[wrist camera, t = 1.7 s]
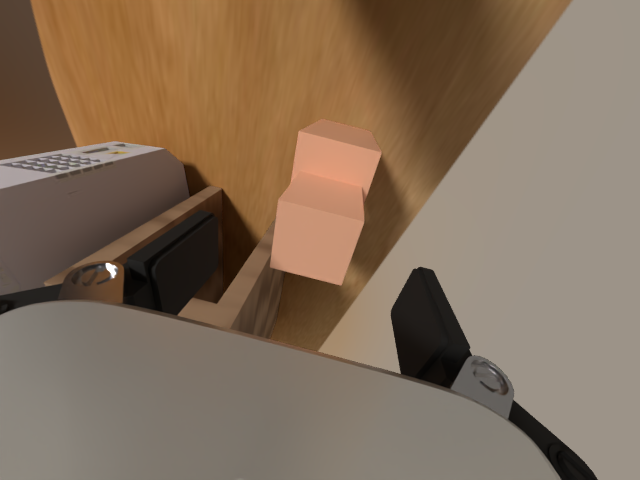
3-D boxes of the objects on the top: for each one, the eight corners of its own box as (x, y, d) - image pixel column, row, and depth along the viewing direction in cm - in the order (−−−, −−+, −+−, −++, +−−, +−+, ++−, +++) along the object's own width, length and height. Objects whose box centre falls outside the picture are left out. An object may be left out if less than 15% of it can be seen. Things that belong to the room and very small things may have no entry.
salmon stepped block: (322, 118, 23) (272, 144, 9) (370, 131, 23) (394, 176, 9) (306, 196, 28) (257, 294, 14) (347, 206, 28) (339, 315, 14)
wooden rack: (210, 185, 29) (27, 291, 13) (296, 207, 29) (222, 341, 13) (214, 305, 40) (122, 440, 24) (276, 321, 40) (224, 465, 24)
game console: (181, 302, 41) (58, 444, 24) (132, 137, 27) (-249, 199, 10) (212, 308, 41) (111, 455, 24) (180, 144, 27) (-129, 220, 10)
